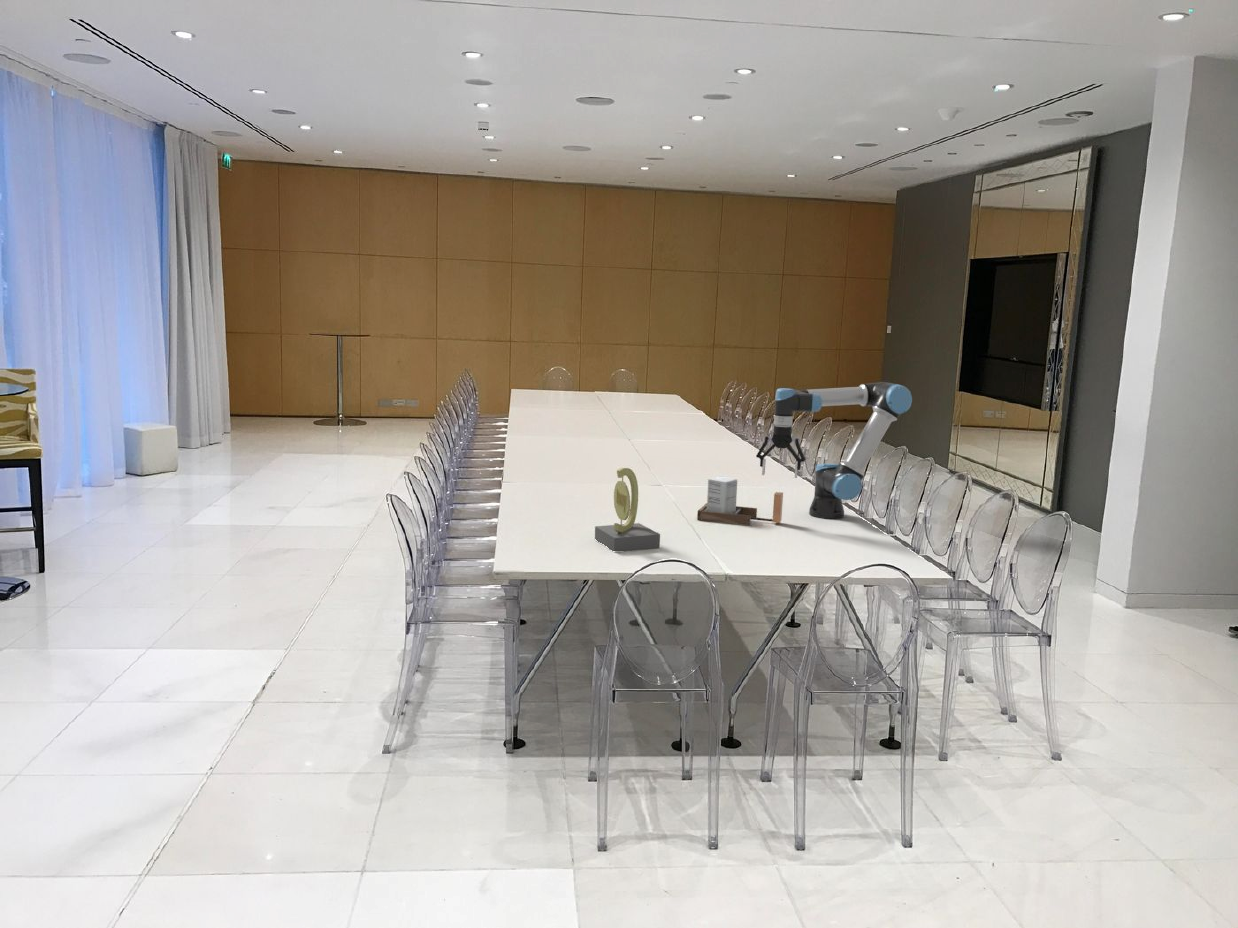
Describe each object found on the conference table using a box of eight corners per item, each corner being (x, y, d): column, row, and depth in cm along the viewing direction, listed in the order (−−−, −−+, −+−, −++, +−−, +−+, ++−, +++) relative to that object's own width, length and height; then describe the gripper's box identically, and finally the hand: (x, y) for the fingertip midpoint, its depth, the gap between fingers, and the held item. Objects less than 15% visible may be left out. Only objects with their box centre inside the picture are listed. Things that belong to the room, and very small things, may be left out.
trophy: (594, 540, 384) (596, 463, 379) (638, 536, 392) (641, 461, 386) (614, 552, 367) (616, 472, 362) (659, 548, 375) (662, 470, 370)
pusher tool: (709, 512, 436) (710, 484, 434) (782, 519, 427) (784, 490, 424) (702, 518, 423) (703, 489, 421) (778, 526, 414) (779, 496, 412)
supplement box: (718, 514, 434) (720, 475, 431) (736, 517, 429) (738, 479, 426) (705, 517, 427) (707, 478, 424) (723, 521, 421) (725, 481, 418)
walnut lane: (705, 512, 438) (706, 503, 437) (756, 517, 432) (757, 508, 431) (697, 520, 422) (697, 510, 422) (749, 525, 416) (750, 516, 415)
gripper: (751, 424, 413) (748, 474, 417) (812, 429, 406) (808, 480, 410) (754, 422, 421) (751, 471, 424) (814, 426, 413) (810, 477, 417)
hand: (779, 476), depth 417 cm, fingers open, 13 cm apart
